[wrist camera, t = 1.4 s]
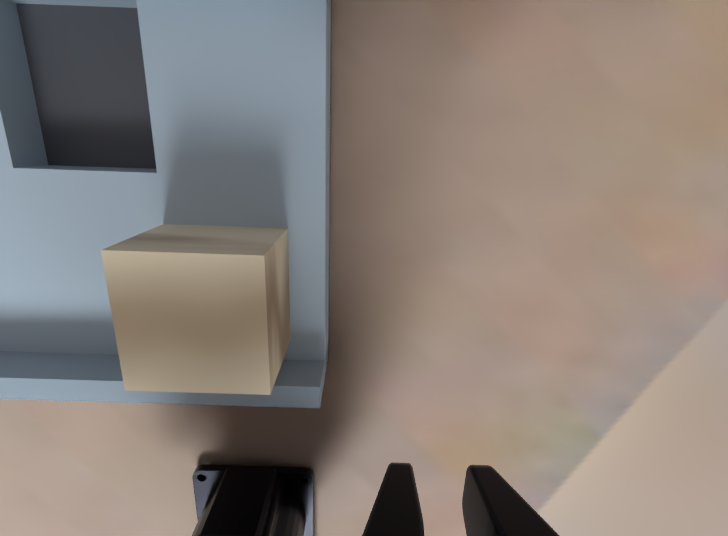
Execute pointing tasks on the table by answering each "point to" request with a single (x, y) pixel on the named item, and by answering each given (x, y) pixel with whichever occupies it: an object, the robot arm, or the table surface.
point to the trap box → (155, 172)
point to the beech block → (200, 308)
